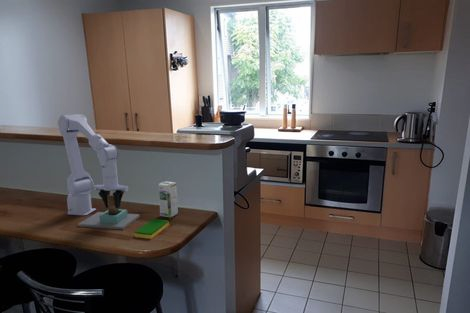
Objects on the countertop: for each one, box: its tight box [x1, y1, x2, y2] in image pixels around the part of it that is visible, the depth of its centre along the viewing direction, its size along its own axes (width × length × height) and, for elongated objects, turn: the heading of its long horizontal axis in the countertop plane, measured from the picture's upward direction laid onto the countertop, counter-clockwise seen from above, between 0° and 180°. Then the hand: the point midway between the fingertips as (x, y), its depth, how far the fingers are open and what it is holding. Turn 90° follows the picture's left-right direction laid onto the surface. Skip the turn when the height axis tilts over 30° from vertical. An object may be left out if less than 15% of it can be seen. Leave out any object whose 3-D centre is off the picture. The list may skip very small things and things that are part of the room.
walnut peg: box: [107, 193, 119, 215], centre depth 143 cm, size 4×4×8 cm
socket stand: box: [77, 208, 141, 230], centre depth 144 cm, size 20×14×4 cm
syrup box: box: [158, 180, 179, 218], centre depth 149 cm, size 6×6×14 cm
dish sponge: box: [134, 218, 170, 240], centre depth 134 cm, size 7×14×2 cm, turn 162°
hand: (112, 207), depth 143 cm, fingers closed on walnut peg, 4 cm apart
